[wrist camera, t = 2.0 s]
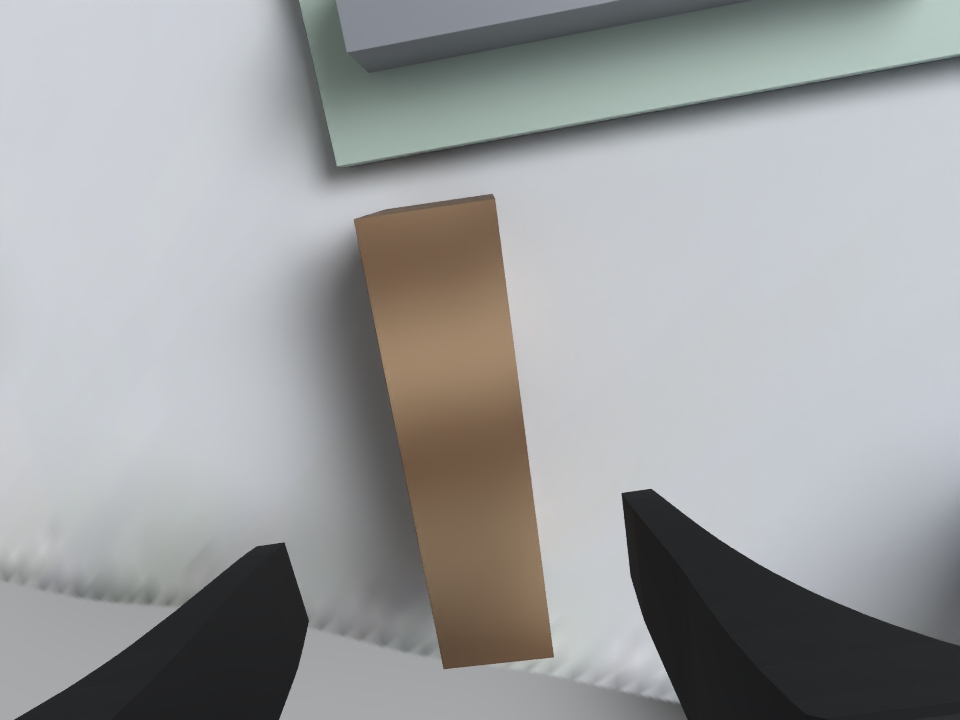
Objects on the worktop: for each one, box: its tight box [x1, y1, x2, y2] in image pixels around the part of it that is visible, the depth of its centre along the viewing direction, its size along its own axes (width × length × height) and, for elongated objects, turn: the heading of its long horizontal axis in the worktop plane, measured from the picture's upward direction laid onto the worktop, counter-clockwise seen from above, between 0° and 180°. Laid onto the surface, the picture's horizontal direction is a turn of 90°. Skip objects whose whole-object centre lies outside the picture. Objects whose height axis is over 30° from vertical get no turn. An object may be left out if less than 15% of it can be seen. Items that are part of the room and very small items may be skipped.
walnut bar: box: [354, 194, 554, 669], centre depth 19 cm, size 14×4×5 cm, turn 8°
